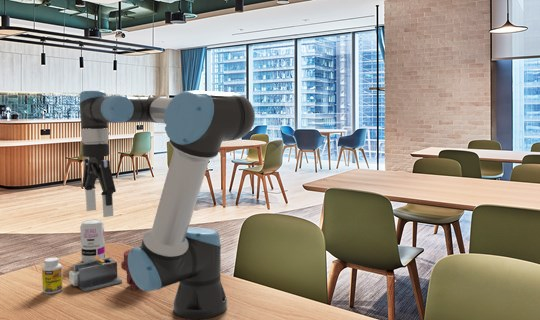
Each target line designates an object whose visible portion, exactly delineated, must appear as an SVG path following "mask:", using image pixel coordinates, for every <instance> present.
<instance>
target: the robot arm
mask: <svg viewBox="0 0 540 320" xmlns="http://www.w3.org/2000/svg"><path fill="white" fill-rule="evenodd" d="M78 105H79V115H80V127H81V129H80V130H81V131H80V132H81V133H80V136H81V143H83V144H82V156H83V157H84V169H83V176H82V182H81V183H82V184H81V187H83V188H84V190H85V205H86V206H85V207H86V212H90V211H96V210H97V203H96V202H97V201H96V188H97V187H96V185H95V184H96V180H97V178H98V182H99V185H100V187H101V190H102V192H101V194H100V195H101V197H102V198H101V199H102V201H101V202H102V216H103V218H110V217H113V216H114V202H113V201H114V200H113V194H114V193H116V192H117V190H116V185H115V181H114V178H113V174H112V170H111V169H112V168H111V164H110V163H111V162H110V161H111V160H109V159H105V157H108V156H109V155H110V145H109V135H110V131H109V124H110V123H113V124H122V123H125V124H126V123H157V124H159V123H160V124H165V127H164V131H165V133H166V135H167V137H168V138H169V141H168V142H169V144H170V146H171V148H172V149H173V150H172V155H171V158H170V163H169V167H168V170H167V174H166V177H165V181H164V184H163V187H162V192H161V195H160V199H159V203H158V206H157V209H156V213H155V216H154V220H153V225H152V227H151V229H148V230H147V231H145V233H144V235H143V237H142V241H141V244H140V246H135V247H133V248H134V249H132V248H131V249H132V250H131V249H130V250H131V251H130V252H129V255H128V267H129V271H130V274H131V277H132V279H133V281H134V282H135V284H136V285H137V286H138V287H139V288H138V289H140V290H142V291H144V292H148V293H149V292H153V291H159V290H161V289H164V288H166V287H169V286H171V285H174V284H177V283H179V284H178V287H177V290H176V294H175V296H174V300H173V312H174V313H175V315H177V316H179V317H180V318H184V319H190V320H204V319H211V318H213V317H217V316H219V315H221V314H223V313H224V312H225V311H226V310H227V307H228V306H227V305H228V299H227V298H228V297H227V296H226V293H225V290H224V287H223V285H222V284H223V283H222V281H221V280H222V279H221V264H222V263H221V260H222V259H221V257H222V256H221V250H222V249H221V247H222V244H221V236H220V233H219V232H218V231H217V230H215V229H212V228H206V227H193V226H192V227H190V224H191V220H192V217H193V213H194V210H195V207H196V204H197V200H198V197H199V194H200V191H201V189H202V185H203V181H204V178H205V176H206V172H207V168H208V165H209V163H210V160H211V159H214V158H217V156H218V154H219V152H220V149H221V145H222V142H230V141H237V140H239V139H242V138H243V137H246V136H247V134H249V132H251V130H252V128H253V126H254V123H255V120H256V115H255V110H254V107H253V105H252V103H251V101H250V100H249V99H248V98H247V97H245V96H244V95H242V94H240V93H236V92H230V91H228V92H225V91H206V90H205V91H204V90H202V89H201V90H200V89H195V90H184V91H182V92H180V93H178V94H176V95H174V97H159V96H153V97H152V96H151V97H150V96H149V97H148V96H124V95H120V94H119V95H118V94H111V95H107V93H106V92H105V91H103V90H83V91H81V92H80V93H79V103H78ZM107 142H108V143H107Z"/></svg>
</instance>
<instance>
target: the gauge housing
mask: <svg viewBox="0 0 540 320" xmlns="http://www.w3.org/2000/svg"><path fill="white" fill-rule="evenodd" d="M102 260H104V261H105V263H103V264H98V262H97V260H93V261H90V262H85V263H84V262H82V263H81V262H80V263H76V264H73V271H78V270H79V283H78V286H77V287H79V288H80V290H82V291H83V292H85V293H86V292H90V291H93V290H98V289H102V288H106V287H109V286H115V285H118V284H119V285H120V284H122V283H123V280H122V279H121V278H120V277H118V262H117V261H116V260H114V259H113V258H112V257H105V258H104V259H102Z"/></svg>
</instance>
